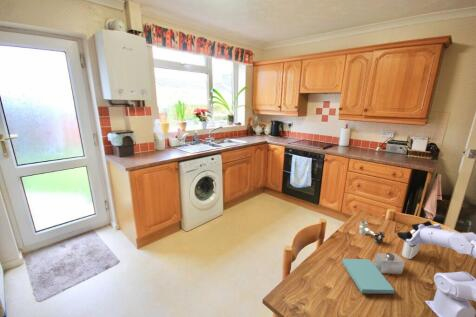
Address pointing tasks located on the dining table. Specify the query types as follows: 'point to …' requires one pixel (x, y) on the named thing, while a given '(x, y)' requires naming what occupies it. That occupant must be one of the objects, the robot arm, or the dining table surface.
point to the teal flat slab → (367, 276)
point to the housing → (389, 263)
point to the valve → (364, 230)
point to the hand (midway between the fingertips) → (405, 230)
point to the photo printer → (410, 248)
